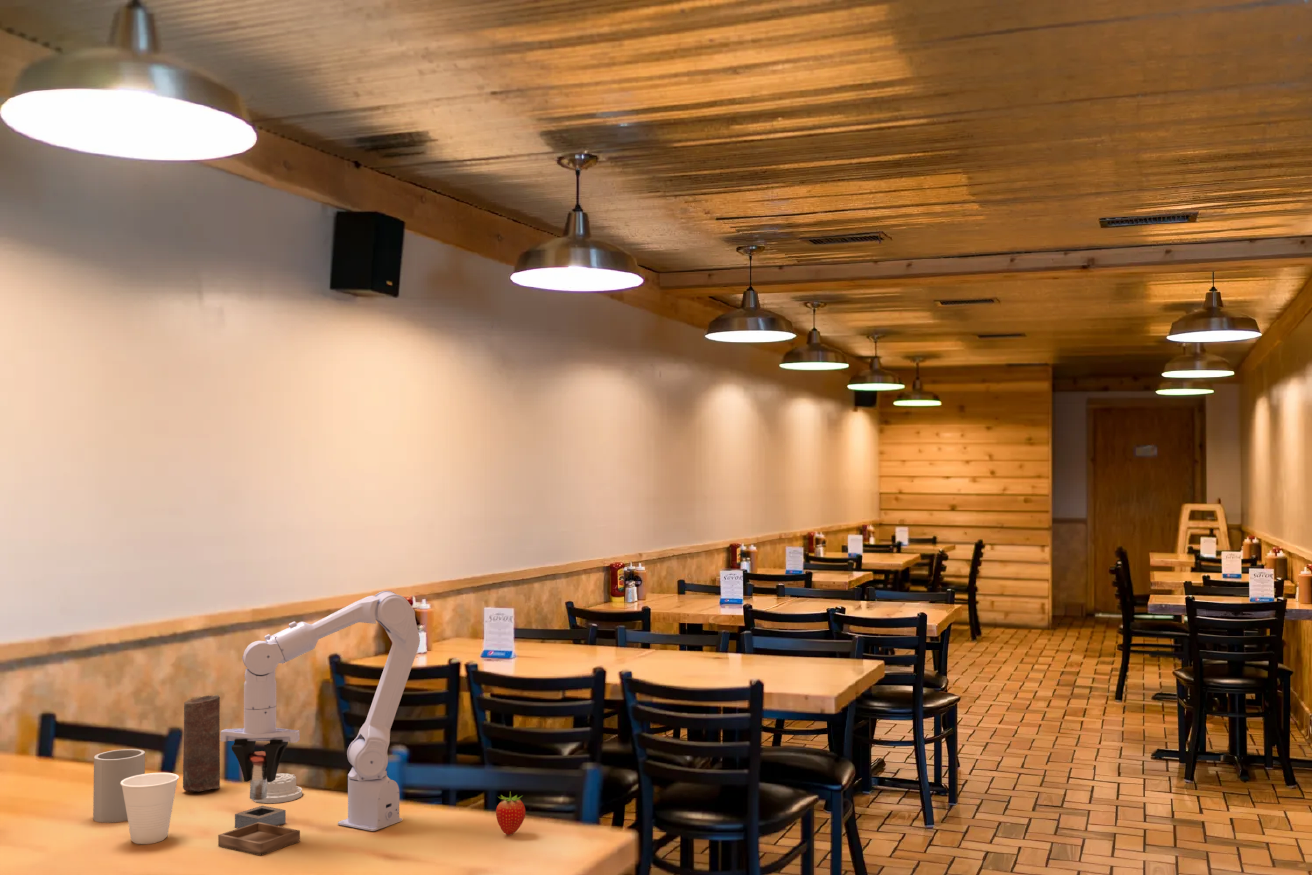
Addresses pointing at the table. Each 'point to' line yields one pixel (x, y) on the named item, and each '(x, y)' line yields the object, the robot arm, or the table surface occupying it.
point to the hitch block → (260, 816)
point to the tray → (259, 838)
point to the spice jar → (258, 775)
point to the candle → (201, 743)
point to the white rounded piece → (282, 789)
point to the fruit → (510, 814)
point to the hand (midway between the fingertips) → (259, 780)
